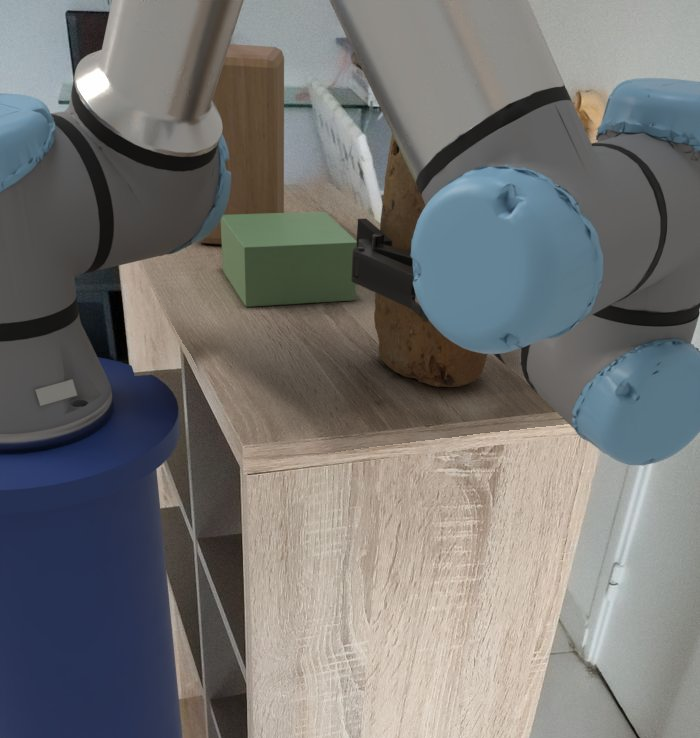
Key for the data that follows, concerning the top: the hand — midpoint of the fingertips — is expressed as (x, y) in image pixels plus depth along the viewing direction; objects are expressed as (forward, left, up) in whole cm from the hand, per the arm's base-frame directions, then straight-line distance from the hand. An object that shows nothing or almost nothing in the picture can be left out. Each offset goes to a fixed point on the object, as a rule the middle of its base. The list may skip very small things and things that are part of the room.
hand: (426, 232), depth 78 cm
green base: (-7, +21, -11) cm, 25 cm away
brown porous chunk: (0, -4, -11) cm, 12 cm away
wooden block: (-8, +40, -11) cm, 42 cm away
